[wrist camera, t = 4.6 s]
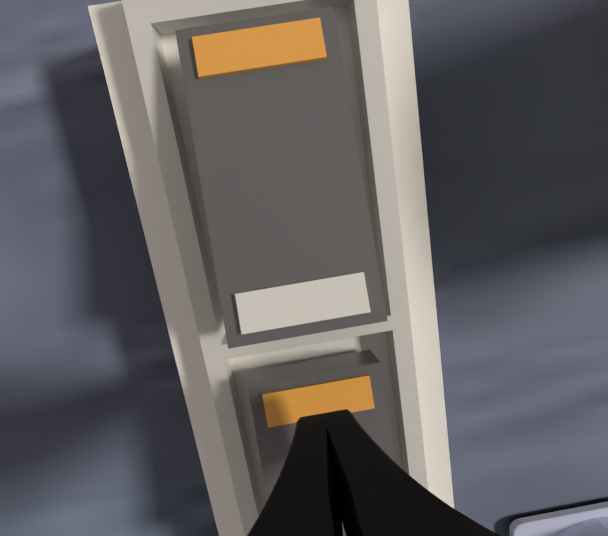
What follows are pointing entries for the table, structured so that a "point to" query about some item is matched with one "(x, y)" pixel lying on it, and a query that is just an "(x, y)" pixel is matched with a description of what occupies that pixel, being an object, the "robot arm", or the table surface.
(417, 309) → the rocker switch box
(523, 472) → the table surface
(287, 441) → the rocker
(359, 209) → the rocker
